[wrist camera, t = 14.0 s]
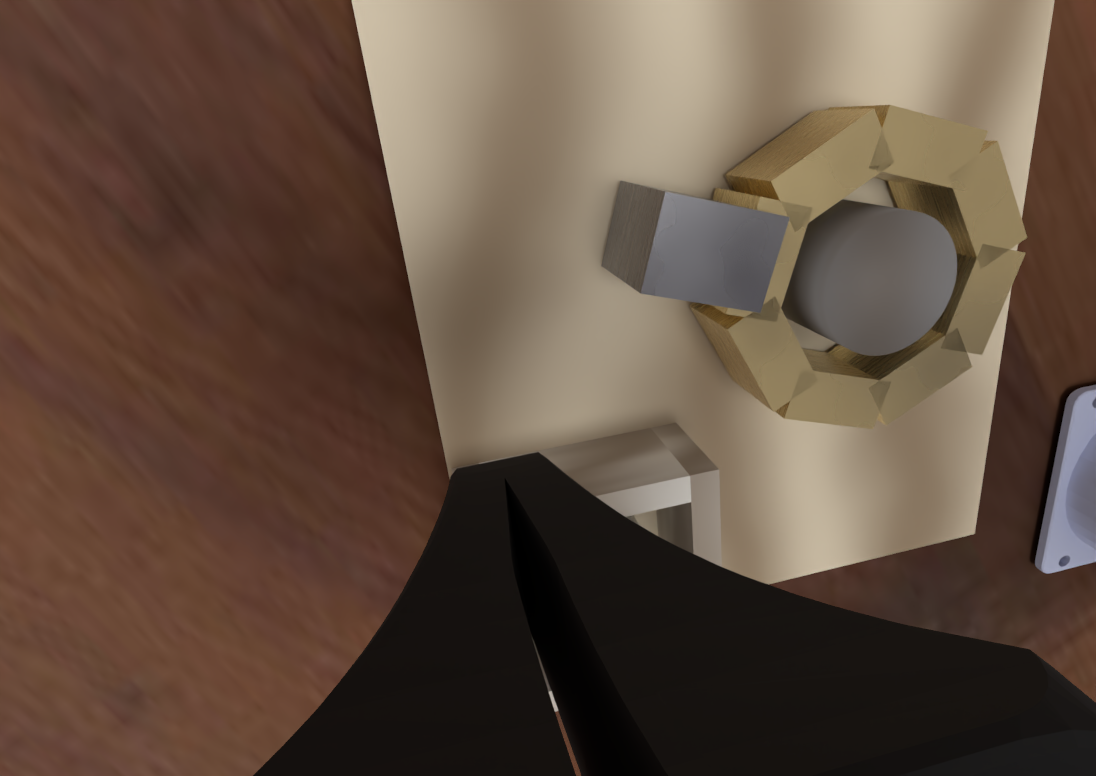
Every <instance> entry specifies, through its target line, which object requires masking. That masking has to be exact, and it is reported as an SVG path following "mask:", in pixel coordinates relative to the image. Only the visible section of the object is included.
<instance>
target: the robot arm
mask: <svg viewBox="0 0 1096 776" xmlns="http://www.w3.org/2000/svg"><path fill="white" fill-rule="evenodd" d="M1093 562H1096V385H1092V386H1087V387H1082V388H1079V389H1077V390H1075V391H1073V392H1072V393H1071V394H1070V395H1069V397H1068V398H1067V401H1066V404H1065V409H1064V414H1063V419H1062V425H1061V430H1060V435H1059V440H1058V445H1057V450H1056V455H1055V460H1054V466H1053V471H1052V476H1051V481H1050V486H1049V491H1048V496H1047V502H1046V507H1045V512H1044V517H1043V522H1042V527H1041V532H1040V537H1039V543H1038V548H1037V553H1036V558H1035V566H1036V567H1037V568H1038V569H1039V570H1041V571H1042V572H1044V573H1046V574H1048V573H1054V572H1058V571H1062V570H1065V569H1069V568H1073V567H1077V566H1081V565H1085V564H1089V563H1093ZM532 638H533V639H532ZM533 641H534V642H533ZM534 644H535V645H534ZM535 646H536V649H537V652H538V655H539V658H540V660H541V663H542V666H543V669H544V672H545V675H546V677H547V680H548V683H549V686H550V689H551V691H552V694H553V697H554V700H555V702H556V705H557V708H558V711H559V714H560V716H561V719H562V722H563V725H564V728H565V730H566V733H567V736H568V739H569V742H570V744H571V747H572V750H573V753H574V755H575V758H576V761H577V764H578V767H579V769H580V772H581V776H1096V703H1095V702H1094V701H1093V700H1092V699H1090V698H1089V697H1088V696H1087V695H1086V694H1084V693H1083V692H1082V691H1081V690H1079V689H1078V688H1077V687H1076V686H1075V685H1073V684H1072V683H1071V682H1070V681H1069V680H1067V679H1066V678H1065V677H1064V676H1063V675H1061V674H1060V673H1059V672H1058V671H1057V670H1055V669H1054V668H1053V667H1052V666H1051V665H1049V664H1048V663H1047V662H1045V661H1044V660H1043V659H1041V658H1040V657H1039V656H1037V655H1036V654H1035V653H1034V652H1032V651H1031V650H1030V649H1024V648H1019V647H1014V646H1009V645H1004V644H999V643H994V642H989V641H984V640H979V639H974V638H969V637H964V636H958V635H953V634H948V633H943V632H938V631H933V630H928V629H923V628H918V627H913V626H908V625H904V624H900V623H895V622H891V621H887V620H884V619H880V618H876V617H872V616H869V615H865V614H861V613H857V612H854V611H850V610H846V609H842V608H839V607H835V606H831V605H828V604H825V603H822V602H818V601H815V600H812V599H809V598H805V597H802V596H799V595H796V594H793V593H790V592H787V591H784V590H782V589H779V588H776V587H773V586H770V585H768V584H765V583H762V582H759V581H757V580H754V579H751V578H748V577H745V576H743V575H740V574H738V573H735V572H733V571H731V570H728V569H726V568H723V567H721V566H718V565H716V564H714V563H712V562H710V561H708V560H705V559H703V558H701V557H699V556H697V555H695V554H693V553H690V552H688V551H686V550H684V549H682V548H680V547H678V546H676V545H674V544H672V543H670V542H668V541H666V540H664V539H662V538H660V537H659V536H657V535H655V534H653V533H652V532H650V531H648V530H646V529H645V528H643V527H641V526H640V525H638V524H636V523H635V522H633V521H631V520H629V519H628V518H626V517H625V516H623V515H622V514H620V513H619V512H617V511H616V510H614V509H613V508H611V507H610V506H609V505H607V504H606V503H604V502H603V501H601V500H600V499H599V498H597V497H596V496H594V495H593V494H591V493H590V492H589V491H587V490H586V489H585V488H583V487H582V486H581V485H580V484H578V483H577V482H576V481H574V480H573V479H572V478H571V477H569V476H568V475H567V474H566V473H564V472H563V471H562V470H561V469H559V468H558V467H557V466H556V465H555V464H553V463H552V462H551V461H550V460H549V459H547V458H546V457H545V456H543V455H542V454H540V453H539V452H536V453H531V454H526V455H521V456H516V457H511V458H506V459H501V460H496V461H492V462H487V463H482V464H477V465H472V466H467V467H462V468H457V469H456V470H455V471H454V473H453V474H452V475H451V477H450V482H449V487H448V491H447V494H446V497H445V501H444V503H443V506H442V509H441V512H440V514H439V517H438V520H437V522H436V524H435V527H434V529H433V531H432V533H431V536H430V538H429V540H428V543H427V545H426V547H425V549H424V551H423V554H422V556H421V558H420V559H419V561H418V563H417V565H416V567H415V569H414V571H413V572H412V574H411V576H410V578H409V580H408V582H407V584H406V586H405V587H404V589H403V591H402V593H401V595H400V596H399V598H398V600H397V601H396V603H395V605H394V606H393V608H392V609H391V611H390V613H389V614H388V616H387V617H386V619H385V620H384V622H383V624H382V625H381V626H380V628H379V629H378V631H377V632H376V634H375V635H374V637H373V638H372V640H371V641H370V642H369V644H368V645H367V647H366V648H365V650H364V651H363V652H362V654H361V655H360V656H359V657H358V659H357V660H356V661H355V663H354V664H353V665H352V667H351V668H350V669H349V670H348V672H347V673H346V674H345V676H344V677H343V678H342V679H341V681H340V682H339V683H338V685H337V686H336V687H335V688H334V689H333V691H332V692H331V693H330V694H329V695H328V697H327V698H326V699H325V700H324V702H323V703H322V704H321V705H320V706H319V708H318V709H317V710H316V711H315V712H314V713H313V714H312V715H311V716H310V718H309V719H308V720H307V721H306V722H305V723H304V724H303V725H302V726H301V727H300V728H299V729H298V730H297V731H296V733H295V734H294V735H293V736H292V737H291V738H290V739H289V740H288V741H287V742H286V743H285V744H284V745H283V746H282V747H281V748H280V749H279V750H278V751H277V752H276V753H275V754H274V755H273V756H272V757H271V758H270V759H269V760H268V761H267V762H266V763H265V764H264V765H263V766H262V767H261V768H260V769H259V770H258V771H257V772H256V773H255V774H254V775H253V776H576V774H575V771H574V768H573V765H572V762H571V759H570V756H569V753H568V750H567V747H566V744H565V741H564V738H563V735H562V732H561V729H560V726H559V723H558V720H557V717H556V714H555V711H554V708H553V704H552V701H551V698H550V695H549V691H548V688H547V685H546V682H545V679H544V675H543V672H542V669H541V666H540V663H539V659H538V656H537V652H536V649H535Z"/></svg>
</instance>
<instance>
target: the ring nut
mask: <svg viewBox="0 0 1096 776" xmlns="http://www.w3.org/2000/svg"><path fill="white" fill-rule="evenodd" d="M987 133H988V131H987V130H983V129H979V128H976V127H972V126H968V125H964V124H961V123H957V122H953V121H949V120H946V119H942V118H938V117H934V116H931V115H927V114H923V113H919V112H916V111H912V110H908V109H904V108H901V107H897V106H893V105H874V106H851V107H829V108H828V110H818V111H813V112H812V113H810V114H809V115H808V116H806V117H805V118H803V119H802V120H801V121H799V122H798V123H796V124H795V125H794V126H792V127H791V128H789V129H788V130H787V131H785V132H784V133H782V134H781V135H780V136H778V137H777V138H775V139H774V140H773V141H771V142H770V143H768V144H767V145H765V146H764V147H763V148H761V149H760V150H758V151H757V152H756V153H754V154H753V155H751V156H750V157H749V158H747V159H746V160H744V161H743V162H742V163H740V164H739V165H737V166H736V167H735V168H733V169H732V170H730V171H729V172H728V173H726V174H725V176H726V178H727V180H728V182H729V184H730V186H731V188H732V190H733V191H729V190H724V189H719V188H715V192H714V196H713V199H708V198H703V197H698V196H693V195H689V194H684V193H679V192H674V191H669V190H664V189H660V188H655V187H650V186H645V185H640V184H635V183H630V182H626V181H621V180H620V184H619V189H618V193H617V198H616V202H615V207H614V211H613V216H612V220H611V225H610V229H609V233H608V238H607V242H606V247H605V251H604V256H603V260H602V265H601V266H602V267H603V268H605V269H606V270H608V271H609V272H611V273H612V274H613V275H615V276H616V277H618V278H619V279H621V280H622V281H623V282H625V283H626V284H628V285H629V286H631V287H632V288H633V289H635V290H636V291H638V292H639V293H641V294H646V295H653V296H659V297H665V298H671V299H677V300H683V301H690V302H694V303H692V304H691V305H689V306H690V308H691V310H692V311H693V313H694V315H695V316H696V318H697V320H698V322H699V323H700V325H701V327H702V329H703V330H704V332H705V334H706V335H707V337H708V339H709V341H710V342H711V344H712V346H713V348H714V349H715V351H716V353H717V354H718V356H719V358H720V360H721V361H722V363H723V365H724V366H725V368H726V370H727V372H728V373H729V375H730V377H731V379H732V380H733V381H734V382H735V383H737V384H738V385H739V386H741V387H742V388H743V389H744V390H746V391H747V392H748V393H750V394H751V395H752V396H754V397H755V398H756V399H757V400H759V401H760V402H761V403H763V404H764V405H765V406H767V407H768V408H769V409H770V410H772V411H773V412H776V413H777V414H779V415H780V416H781V417H783V418H784V419H790V420H798V421H807V422H815V423H824V424H832V425H841V426H849V427H858V428H866V429H873V428H874V426H875V423H876V421H877V420H878V421H880V422H881V423H883V424H884V425H888V424H889V423H891V422H892V421H894V420H895V419H897V418H898V417H900V416H901V415H903V414H904V413H906V412H907V411H908V410H910V409H911V408H913V407H914V406H916V405H917V404H919V403H920V402H922V401H923V400H925V399H926V398H928V397H929V396H931V395H932V394H933V393H935V392H936V391H938V390H939V389H941V388H942V387H944V386H945V385H947V384H948V383H950V382H951V381H953V380H954V379H955V378H957V377H958V376H960V375H961V374H963V373H964V372H966V371H967V370H969V369H970V368H972V365H971V362H970V359H969V357H968V354H967V353H973V354H979V355H982V354H983V352H984V350H985V347H986V345H987V343H988V340H989V338H990V336H991V333H992V331H993V329H994V326H995V324H996V322H997V319H998V317H999V315H1000V312H1001V310H1002V308H1003V305H1004V303H1005V301H1006V298H1007V296H1008V294H1009V291H1010V289H1011V286H1012V284H1013V282H1014V279H1015V277H1016V275H1017V272H1018V270H1019V268H1020V265H1021V263H1022V261H1023V258H1024V256H1025V254H1026V253H1024V252H1019V251H1015V250H1010V249H1012V248H1013V247H1014V246H1016V245H1017V244H1019V243H1020V242H1022V241H1023V240H1025V239H1026V238H1027V235H1026V232H1025V228H1024V225H1023V222H1022V219H1021V215H1020V212H1019V209H1018V205H1017V202H1016V199H1015V195H1014V192H1013V189H1012V186H1011V182H1010V179H1009V176H1008V172H1007V169H1006V166H1005V163H1004V159H1003V156H1002V153H1001V149H1000V146H999V143H998V141H985V138H986V136H987ZM872 178H877V179H881V180H885V181H888V184H889V186H890V189H891V191H892V194H893V196H894V199H895V202H896V204H897V207H898V208H900V209H906V210H912V211H917V212H921V213H925V214H927V215H929V216H931V217H933V218H935V219H936V220H938V221H939V222H940V223H941V224H942V225H943V226H944V227H945V229H946V230H947V231H948V233H949V235H950V236H951V238H952V240H953V243H954V246H955V250H956V255H957V275H956V281H955V285H954V289H953V292H952V295H951V297H950V300H949V302H948V304H947V306H946V308H945V310H944V312H943V313H942V315H941V316H940V318H939V319H938V320H937V322H936V323H935V324H934V325H933V327H932V328H931V329H930V330H929V331H928V332H927V333H926V334H925V335H923V336H922V337H921V338H920V339H919V340H917V341H916V342H914V343H913V344H911V345H910V346H908V347H906V348H904V349H902V350H899V351H897V352H894V353H890V354H887V355H880V356H869V355H862V354H859V353H856V352H853V351H851V350H849V349H847V348H845V347H843V346H841V345H838V346H837V347H835V348H834V349H832V350H831V351H829V352H821V351H814V350H808V349H802V348H801V346H800V344H799V342H798V340H797V338H796V336H795V334H794V332H793V330H792V328H791V326H790V324H789V322H788V321H787V319H786V317H785V315H784V313H783V311H782V309H781V307H782V304H783V301H784V297H785V294H786V291H787V288H788V285H789V282H790V278H791V275H792V272H793V269H794V266H795V263H796V260H797V256H798V253H799V250H800V247H801V244H802V241H803V238H804V234H805V231H806V228H807V225H808V223H809V222H811V221H812V220H813V219H815V218H816V217H818V216H819V215H821V214H822V213H823V212H825V211H826V210H828V209H829V208H831V207H832V206H833V205H835V204H836V203H838V202H839V201H840V200H842V199H843V198H845V197H846V196H848V195H849V194H850V193H852V192H853V191H855V190H856V189H858V188H859V187H860V186H862V185H863V184H865V183H866V182H868V181H869V180H870V179H872Z"/></svg>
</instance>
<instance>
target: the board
mask: <svg viewBox="0 0 1096 776" xmlns="http://www.w3.org/2000/svg"><path fill="white" fill-rule="evenodd" d="M352 5H353V10H354V15H355V19H356V24H357V29H358V34H359V39H360V44H361V49H362V54H363V59H364V63H365V68H366V73H367V78H368V83H369V88H370V93H371V98H372V103H373V107H374V112H375V117H376V122H377V127H378V132H379V137H380V142H381V146H382V151H383V156H384V161H385V166H386V171H387V176H388V181H389V186H390V190H391V195H392V200H393V205H394V210H395V215H396V220H397V225H398V229H399V234H400V239H401V244H402V249H403V254H404V259H405V264H406V269H407V273H408V278H409V283H410V288H411V293H412V298H413V303H414V308H415V313H416V317H417V322H418V327H419V332H420V337H421V342H422V347H423V352H424V356H425V361H426V366H427V371H428V376H429V381H430V386H431V391H432V396H433V400H434V405H435V410H436V415H437V420H438V425H439V430H440V435H441V439H442V444H443V449H444V454H445V459H446V464H447V469H448V474H449V479H450V477H451V475H452V474H453V473H454V471H455V470H456V469H457V468H462V467H467V466H472V465H477V464H482V463H487V462H492V461H496V460H501V459H506V458H511V457H516V456H521V455H526V454H531V453H536V452H539V453H540V454H542V455H543V456H545V457H546V458H547V459H549V460H550V461H551V462H552V463H553V464H555V465H556V466H557V467H558V468H559V469H561V470H562V471H563V472H564V473H566V474H567V475H568V476H569V477H571V478H572V479H573V480H574V481H576V482H577V483H578V484H580V485H581V486H582V487H583V488H585V489H586V490H587V491H589V492H590V493H591V494H593V495H594V496H596V497H597V498H599V499H600V500H601V501H603V502H604V503H606V504H607V505H609V506H610V507H611V508H613V509H614V510H616V511H617V512H619V513H620V514H622V515H623V516H625V517H627V516H631V515H634V517H635V518H636V520H637V522H638V523H639V525H640V526H641V527H643V528H645V529H646V530H648V531H650V532H652V533H653V534H655V535H657V536H659V537H660V538H662V539H664V540H666V541H668V542H670V543H672V544H674V545H676V546H678V547H680V548H682V549H684V550H686V551H688V552H690V553H693V554H695V555H697V556H699V557H701V558H703V559H705V560H708V561H710V562H712V563H714V564H716V565H718V566H721V567H723V568H726V569H728V570H731V571H733V572H735V573H738V574H740V575H743V576H745V577H748V578H751V579H754V580H757V581H759V582H762V583H765V584H772V583H776V582H780V581H784V580H788V579H792V578H796V577H801V576H805V575H809V574H813V573H817V572H821V571H825V570H829V569H833V568H837V567H842V566H846V565H850V564H854V563H858V562H862V561H866V560H870V559H874V558H878V557H882V556H887V555H891V554H895V553H899V552H903V551H907V550H911V549H915V548H919V547H923V546H927V545H932V544H936V543H940V542H944V541H948V540H952V539H956V538H960V537H964V536H968V535H972V534H975V528H976V521H977V515H978V508H979V501H980V495H981V488H982V481H983V475H984V468H985V461H986V455H987V448H988V441H989V434H990V428H991V421H992V414H993V408H994V401H995V394H996V388H997V381H998V374H999V368H1000V361H1001V354H1002V348H1003V341H1004V334H1005V328H1006V321H1007V314H1008V308H1009V301H1010V294H1011V289H1010V291H1009V294H1008V296H1007V298H1006V301H1005V303H1004V305H1003V308H1002V310H1001V312H1000V315H999V317H998V319H997V322H996V324H995V326H994V329H993V331H992V333H991V336H990V338H989V340H988V343H987V345H986V347H985V350H984V352H983V354H982V355H979V354H973V353H967V354H968V357H969V359H970V362H971V365H972V368H970V369H969V370H967V371H966V372H964V373H963V374H961V375H960V376H958V377H957V378H955V379H954V380H953V381H951V382H950V383H948V384H947V385H945V386H944V387H942V388H941V389H939V390H938V391H936V392H935V393H933V394H932V395H931V396H929V397H928V398H926V399H925V400H923V401H922V402H920V403H919V404H917V405H916V406H914V407H913V408H911V409H910V410H908V411H907V412H906V413H904V414H903V415H901V416H900V417H898V418H897V419H895V420H894V421H892V422H891V423H889V424H888V425H884V424H883V423H881V422H880V421H878V420H877V421H876V423H875V426H874V428H873V429H866V428H858V427H849V426H841V425H832V424H824V423H815V422H807V421H798V420H790V419H784V418H783V417H781V416H780V415H779V414H777V413H776V412H773V411H772V410H770V409H769V408H768V407H767V406H765V405H764V404H763V403H761V402H760V401H759V400H757V399H756V398H755V397H754V396H752V395H751V394H750V393H748V392H747V391H746V390H744V389H743V388H742V387H741V386H739V385H738V384H737V383H735V382H734V381H733V380H732V379H731V377H730V375H729V373H728V372H727V370H726V368H725V366H724V365H723V363H722V361H721V360H720V358H719V356H718V354H717V353H716V351H715V349H714V348H713V346H712V344H711V342H710V341H709V339H708V337H707V335H706V334H705V332H704V330H703V329H702V327H701V325H700V323H699V322H698V320H697V318H696V316H695V315H694V313H693V311H692V310H691V308H690V306H689V305H691V304H692V303H694V302H690V301H683V300H677V299H671V298H665V297H659V296H653V295H646V294H641V293H639V292H638V291H636V290H635V289H633V288H632V287H631V286H629V285H628V284H626V283H625V282H623V281H622V280H621V279H619V278H618V277H616V276H615V275H613V274H612V273H611V272H609V271H608V270H606V269H605V268H603V267H602V266H601V265H602V260H603V256H604V251H605V247H606V242H607V238H608V233H609V229H610V225H611V220H612V216H613V211H614V207H615V202H616V198H617V193H618V189H619V184H620V180H621V181H626V182H630V183H635V184H640V185H645V186H650V187H655V188H660V189H664V190H669V191H674V192H679V193H684V194H689V195H693V196H698V197H703V198H708V199H713V196H714V192H715V188H719V189H724V190H729V191H733V190H732V188H731V186H730V184H729V182H728V180H727V178H726V176H725V174H726V173H728V172H729V171H730V170H732V169H733V168H735V167H736V166H737V165H739V164H740V163H742V162H743V161H744V160H746V159H747V158H749V157H750V156H751V155H753V154H754V153H756V152H757V151H758V150H760V149H761V148H763V147H764V146H765V145H767V144H768V143H770V142H771V141H773V140H774V139H775V138H777V137H778V136H780V135H781V134H782V133H784V132H785V131H787V130H788V129H789V128H791V127H792V126H794V125H795V124H796V123H798V122H799V121H801V120H802V119H803V118H805V117H806V116H808V115H809V114H810V113H812V112H813V111H818V110H828V108H829V107H851V106H874V105H893V106H897V107H901V108H904V109H908V110H912V111H916V112H919V113H923V114H927V115H931V116H934V117H938V118H942V119H946V120H949V121H953V122H957V123H961V124H964V125H968V126H972V127H976V128H979V129H983V130H987V131H988V133H987V136H986V138H985V141H998V143H999V146H1000V149H1001V153H1002V156H1003V159H1004V163H1005V166H1006V169H1007V172H1008V176H1009V179H1010V182H1011V186H1012V189H1013V192H1014V195H1015V199H1016V202H1017V205H1018V209H1019V212H1020V215H1021V219H1022V214H1023V207H1024V201H1025V194H1026V187H1027V181H1028V174H1029V167H1030V160H1031V154H1032V147H1033V140H1034V134H1035V127H1036V120H1037V114H1038V107H1039V100H1040V94H1041V87H1042V80H1043V74H1044V67H1045V60H1046V54H1047V47H1048V40H1049V33H1050V27H1051V20H1052V13H1053V7H1054V0H352ZM1017 247H1018V244H1017V245H1016V246H1014V247H1013V248H1012V249H1010V250H1015V251H1017ZM956 275H957V255H956V250H955V246H954V243H953V240H952V238H951V236H950V235H949V233H948V231H947V230H946V229H945V227H944V226H943V225H942V224H941V223H940V222H939V221H938V220H936V219H935V218H933V217H931V216H929V215H927V214H925V213H921V212H917V211H912V210H906V209H900V208H898V207H897V204H896V202H895V199H894V196H893V194H892V191H891V189H890V186H889V184H888V181H885V180H881V179H877V178H872V179H870V180H869V181H868V182H866V183H865V184H863V185H862V186H860V187H859V188H858V189H856V190H855V191H853V192H852V193H850V194H849V195H848V196H846V197H845V198H843V199H842V200H840V201H839V202H838V203H836V204H835V205H833V206H832V207H831V208H829V209H828V210H826V211H825V212H823V213H822V214H821V215H819V216H818V217H816V218H815V219H813V220H812V221H811V222H809V223H808V225H807V228H806V231H805V234H804V238H803V241H802V244H801V247H800V250H799V253H798V256H797V260H796V263H795V266H794V269H793V272H792V275H791V278H790V282H789V285H788V288H787V291H786V294H785V297H784V301H783V304H782V307H781V309H782V311H783V313H784V315H785V317H786V319H787V321H788V322H789V324H790V326H791V328H792V330H793V332H794V334H795V336H796V338H797V340H798V342H799V344H800V346H801V348H802V349H808V350H814V351H821V352H829V351H831V350H832V349H834V348H835V347H837V346H838V345H841V346H843V347H845V348H847V349H849V350H851V351H853V352H856V353H859V354H862V355H869V356H880V355H887V354H890V353H894V352H897V351H899V350H902V349H904V348H906V347H908V346H910V345H911V344H913V343H914V342H916V341H917V340H919V339H920V338H921V337H922V336H923V335H925V334H926V333H927V332H928V331H929V330H930V329H931V328H932V327H933V325H934V324H935V323H936V322H937V320H938V319H939V318H940V316H941V315H942V313H943V312H944V310H945V308H946V306H947V304H948V302H949V300H950V297H951V295H952V292H953V289H954V285H955V281H956ZM1011 287H1012V286H1011ZM532 639H533V638H532ZM533 642H534V641H533ZM534 645H535V644H534ZM535 649H536V646H535ZM536 652H537V649H536ZM537 656H538V659H539V663H540V666H541V669H542V672H543V675H544V679H545V682H546V685H547V688H548V691H549V695H550V698H551V701H552V704H553V708H554V711H555V712H556V711H558V708H557V705H556V702H555V700H554V697H553V694H552V691H551V689H550V686H549V683H548V680H547V677H546V675H545V672H544V669H543V666H542V663H541V660H540V658H539V655H538V652H537Z"/></svg>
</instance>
